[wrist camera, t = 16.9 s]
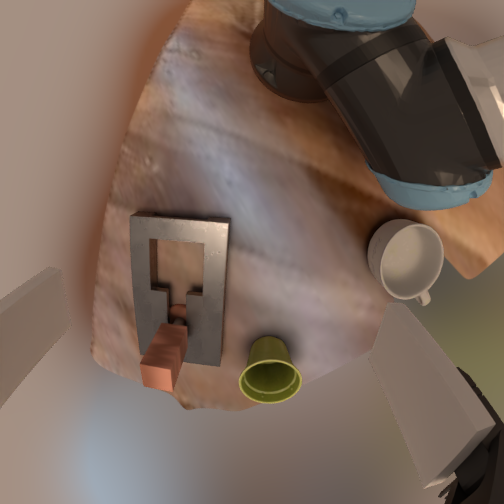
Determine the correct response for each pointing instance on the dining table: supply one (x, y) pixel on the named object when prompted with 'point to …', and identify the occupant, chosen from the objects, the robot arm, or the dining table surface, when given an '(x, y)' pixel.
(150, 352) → the peg
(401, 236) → the teacup
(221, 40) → the dining table surface
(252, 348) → the plant pot
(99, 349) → the dining table surface
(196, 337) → the slot bracket
